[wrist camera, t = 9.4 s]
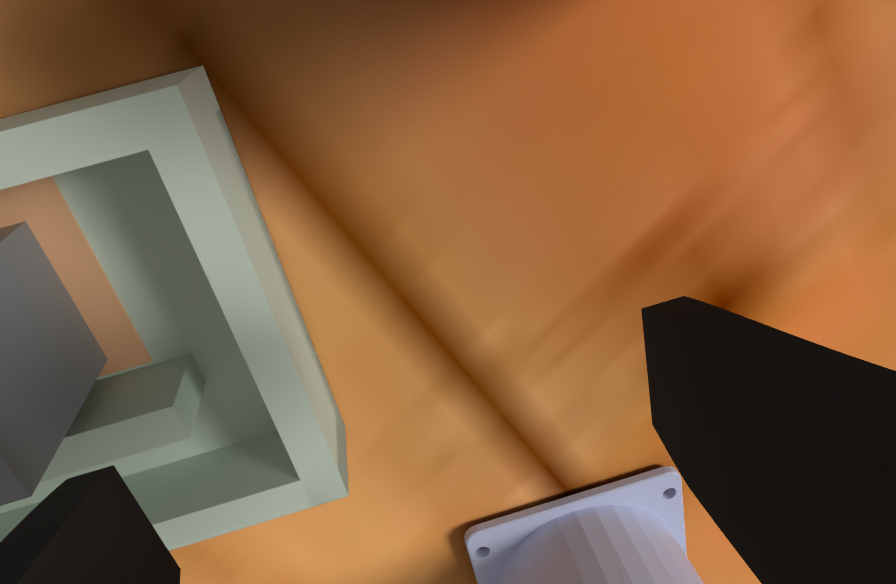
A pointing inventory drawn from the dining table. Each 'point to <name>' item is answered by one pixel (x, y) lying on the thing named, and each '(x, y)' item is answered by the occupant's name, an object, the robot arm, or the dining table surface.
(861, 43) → the dining table surface
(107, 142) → the grey-green rectangular frame
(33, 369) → the grey block with knob
